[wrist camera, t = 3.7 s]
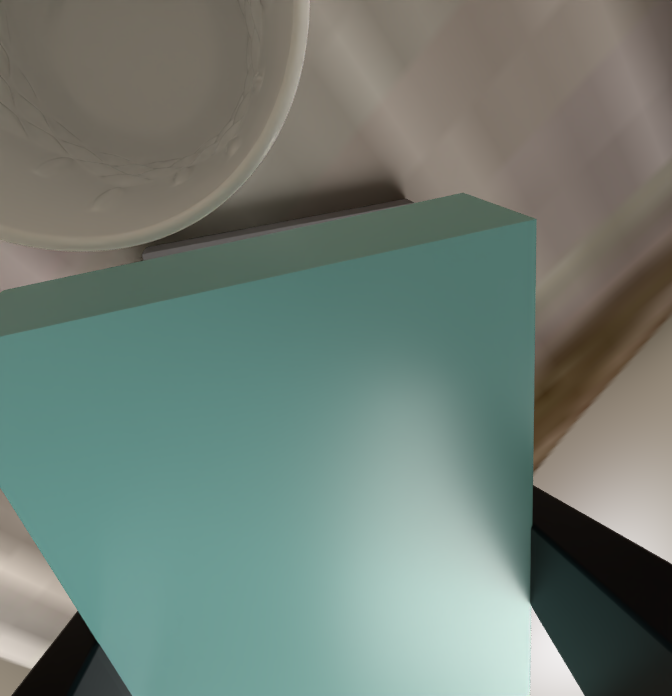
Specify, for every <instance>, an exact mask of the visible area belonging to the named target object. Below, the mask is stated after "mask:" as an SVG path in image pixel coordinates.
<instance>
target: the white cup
mask: <svg viewBox="0 0 672 696" xmlns="http://www.w3.org/2000/svg"><path fill="white" fill-rule="evenodd" d="M309 17H310V0H0V240H3V241H6V242H10V243H14V244H19V245H23V246H28V247H34V248H40V249H47V250H56V251H72V252H93V251H107V250H116V249H122V248H128V247H133V246H137V245H141V244H145V243H149V242H152V241H155V240H158V239H161V238H164V237H166V236H169V235H171V234H174V233H176V232H178V231H180V230H183V229H185V228H186V227H188V226H190V225H192V224H194V223H196V222H197V221H199V220H201V219H202V218H204V217H205V216H207V215H208V214H210V213H211V212H213V211H214V210H215V209H217V208H218V207H219V206H221V205H222V204H223V203H224V202H225V201H227V200H228V199H229V198H230V197H231V196H232V195H233V194H234V193H235V192H236V191H237V190H238V189H239V188H240V187H241V186H242V185H243V184H244V183H245V182H246V181H247V180H248V179H249V177H250V176H251V175H252V174H253V173H254V171H255V170H256V169H257V168H258V166H259V165H260V164H261V162H262V161H263V159H264V158H265V156H266V155H267V153H268V152H269V150H270V149H271V147H272V145H273V144H274V142H275V140H276V138H277V136H278V134H279V133H280V131H281V128H282V126H283V124H284V122H285V120H286V118H287V115H288V113H289V110H290V108H291V105H292V102H293V100H294V97H295V93H296V90H297V87H298V83H299V80H300V76H301V72H302V67H303V63H304V58H305V52H306V46H307V38H308V29H309Z"/></svg>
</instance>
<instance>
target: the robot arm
mask: <svg viewBox="0 0 672 696" xmlns="http://www.w3.org/2000/svg"><path fill="white" fill-rule="evenodd" d="M530 604H531V606H532V608H533V610H534V611H535V613H536V615H537V616H538V618H539V620H540V622H541V623H542V625H543V626H544V628H545V630H546V632H547V633H548V635H549V637H550V638H551V640H552V642H553V643H554V645H555V646H556V648H557V650H558V652H559V653H560V655H561V657H562V658H563V660H564V662H565V663H566V665H567V667H568V668H569V670H570V672H571V673H572V675H573V677H574V678H575V680H576V682H577V684H578V685H579V687H580V688H581V690H582V692H583V694H584V695H585V696H672V564H671V563H669V562H668V561H666V560H664V559H662V558H660V557H659V556H657V555H655V554H653V553H652V552H650V551H648V550H646V549H644V548H643V547H641V546H639V545H638V544H636V543H634V542H632V541H631V540H629V539H627V538H625V537H623V536H622V535H620V534H618V533H616V532H615V531H613V530H611V529H609V528H607V527H606V526H604V525H602V524H601V523H599V522H597V521H595V520H594V519H592V518H590V517H588V516H586V515H585V514H583V513H581V512H579V511H578V510H576V509H574V508H572V507H570V506H569V505H567V504H565V503H563V502H562V501H560V500H558V499H557V498H554V497H553V496H551V495H549V494H548V493H546V492H544V491H542V490H541V489H539V488H537V487H535V486H534V485H533V512H532V527H531V565H530ZM11 696H132V695H131V693H130V691H129V690H128V688H127V687H126V685H125V684H124V682H123V680H122V679H121V677H120V676H119V674H118V672H117V671H116V669H115V668H114V666H113V665H112V663H111V661H110V660H109V658H108V657H107V655H106V653H105V652H104V650H103V649H102V647H101V645H100V644H99V643H98V642H97V640H96V639H95V637H94V635H93V634H92V632H91V631H90V629H89V627H88V626H87V624H86V623H85V621H84V620H83V618H82V616H81V615H80V613H79V612H78V611H77V612H76V614H75V615H74V616H73V617H72V619H71V620H70V621H69V623H68V624H67V625H66V626H65V628H64V629H63V630H62V631H61V633H60V634H59V635H58V637H57V638H56V639H55V640H54V642H53V643H52V644H51V646H50V647H49V648H48V649H47V651H46V652H45V653H44V654H43V656H42V657H41V658H40V660H39V661H38V662H37V663H36V665H35V666H34V667H33V668H32V670H31V671H30V672H29V674H28V675H27V676H26V677H25V679H24V680H23V681H22V683H21V684H20V685H19V686H18V688H17V689H16V690H15V692H14V693H13V694H12V695H11Z"/></svg>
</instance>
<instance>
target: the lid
mask: <svg viewBox="0 0 672 696" xmlns="http://www.w3.org/2000/svg"><path fill="white" fill-rule="evenodd" d="M535 287H536V219H535V218H532V217H529V216H526V215H523V214H521V213H518V212H515V211H512V210H509V209H507V208H504V207H501V206H498V205H496V204H493V203H490V202H487V201H484V200H482V199H479V198H476V197H473V196H470V195H468V194H465V193H460V194H455V195H451V196H446V197H441V198H437V199H432V200H427V201H423V202H418V203H413V204H408V205H404V206H399V207H394V208H390V209H385V210H380V211H375V212H371V213H366V214H361V215H357V216H352V217H347V218H342V219H338V220H333V221H328V222H324V223H319V224H314V225H309V226H305V227H300V228H295V229H291V230H286V231H281V232H276V233H272V234H267V235H262V236H258V237H253V238H248V239H243V240H239V241H234V242H229V243H225V244H220V245H215V246H210V247H206V248H201V249H196V250H192V251H187V252H182V253H177V254H173V255H168V256H163V257H159V258H154V259H149V260H144V261H140V262H135V263H130V264H126V265H121V266H116V267H111V268H107V269H102V270H97V271H93V272H88V273H83V274H78V275H74V276H69V277H64V278H60V279H55V280H50V281H45V282H41V283H36V284H31V285H27V286H22V287H17V288H12V289H8V290H4V291H2V292H1V293H0V488H1V489H2V491H3V493H4V494H5V496H6V497H7V499H8V501H9V502H10V504H11V505H12V507H13V508H14V510H15V512H16V513H17V515H18V516H19V518H20V520H21V521H22V523H23V524H24V526H25V528H26V529H27V531H28V532H29V534H30V535H31V537H32V539H33V540H34V542H35V543H36V545H37V547H38V548H39V550H40V551H41V553H42V554H43V556H44V558H45V559H46V561H47V562H48V564H49V566H50V567H51V569H52V570H53V572H54V574H55V575H56V577H57V578H58V580H59V581H60V583H61V585H62V586H63V588H64V589H65V591H66V593H67V594H68V596H69V597H70V599H71V600H72V602H73V604H74V605H75V607H76V608H77V610H78V612H79V613H80V615H81V616H82V618H83V620H84V621H85V623H86V624H87V626H88V627H89V629H90V631H91V632H92V634H93V635H94V637H95V639H96V640H97V642H98V643H99V644H100V645H101V647H102V649H103V650H104V652H105V653H106V655H107V657H108V658H109V660H110V661H111V663H112V665H113V666H114V668H115V669H116V671H117V672H118V674H119V676H120V677H121V679H122V680H123V682H124V684H125V685H126V687H127V688H128V690H129V691H130V693H131V695H132V696H530V662H531V604H530V565H531V527H532V512H533V437H534V362H535Z"/></svg>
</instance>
